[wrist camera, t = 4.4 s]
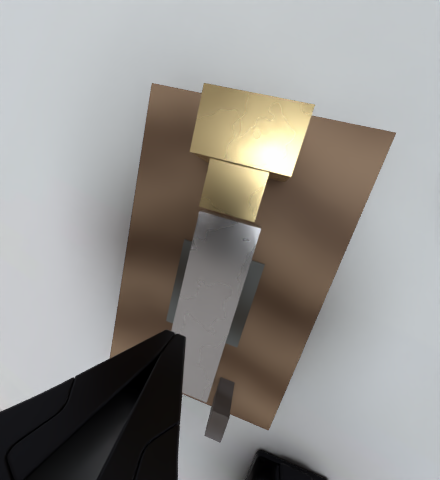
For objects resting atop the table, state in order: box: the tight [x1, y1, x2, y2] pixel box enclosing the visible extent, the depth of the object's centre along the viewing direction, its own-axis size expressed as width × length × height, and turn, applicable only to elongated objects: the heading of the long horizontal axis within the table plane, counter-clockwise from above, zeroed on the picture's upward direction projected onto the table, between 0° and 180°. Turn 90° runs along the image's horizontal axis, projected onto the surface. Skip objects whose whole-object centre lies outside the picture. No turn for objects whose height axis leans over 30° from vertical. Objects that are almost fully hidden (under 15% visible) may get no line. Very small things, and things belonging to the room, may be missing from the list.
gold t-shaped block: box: [190, 83, 315, 222], centre depth 11 cm, size 6×5×3 cm
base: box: [110, 83, 396, 442], centre depth 14 cm, size 23×15×4 cm, turn 165°
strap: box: [171, 210, 261, 403], centre depth 15 cm, size 14×4×1 cm, turn 165°
